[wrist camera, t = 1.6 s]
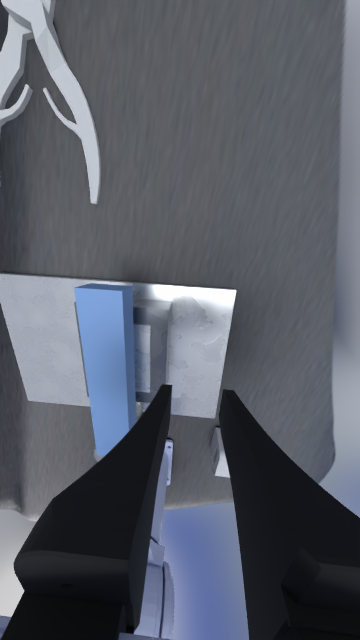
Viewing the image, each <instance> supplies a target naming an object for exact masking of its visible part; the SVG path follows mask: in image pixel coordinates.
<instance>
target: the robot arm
mask: <svg viewBox="0 0 360 640" xmlns="http://www.w3.org/2000/svg"><path fill="white" fill-rule="evenodd" d="M171 400H172V385H168V384H162V385H161V386H160V388H159V390H158V392H157V393H156V395H155V397H154V398H153V400H152V402H151V403H150V404H149V406H148V407H147V409H146V410H145V412H144V413H143V414H142V416H141V417H140V418H139V419H138V421H137V422H136V423H135V425H134V426H133V427H132V428H131V429H130V430H129V432H128V433H127V434H126V435H125V436H124V437H123V438H122V439H121V440H120V441H119V442H118V443H117V444H116V445H115V446H114V447H113V448H112V449H111V450H110V451H109V452H108V453H107V454H106V455H105V456H104V457H103V458H102V459H101V460H100V461H99V462H97V463H96V464H95V465H94V466H93V467H92V468H91V469H89V470H88V471H87V472H86V473H85V474H84V475H82V476H81V477H80V478H79V479H78V480H76V481H75V482H74V483H72V484H71V485H70V486H69V487H67V488H66V489H65V490H64V491H62V492H61V493H60V494H58V495H57V496H56V497H54V498H53V499H52V501H51V502H50V504H49V505H48V506H47V508H46V509H45V511H44V512H43V514H42V515H41V517H40V518H39V520H38V521H37V522H36V524H35V526H34V527H33V529H32V531H31V533H30V534H29V536H28V538H27V539H26V541H25V543H24V545H23V546H22V548H21V550H20V552H19V553H18V555H17V557H16V559H15V561H14V571H15V574H16V576H17V577H18V579H19V581H20V583H21V585H22V587H23V589H24V593H23V595H22V597H21V599H20V601H19V603H18V605H17V607H16V609H15V611H14V614H13V616H12V617H6V616H0V640H172V636H173V624H174V583H173V577H172V574H171V571H170V567H169V564H168V563H167V562H165V561H163V558H164V546H161V545H160V540H161V531H162V522H163V512H164V504H165V494H166V485H170V482H171V467H172V452H173V441H172V440H168V439H167V435H168V430H169V423H170V414H171ZM219 422H220V431H221V437H222V442H223V447H224V451H225V456H226V461H227V465H228V470H229V475H230V479H231V485H232V490H233V498H234V505H235V512H236V520H237V528H238V536H239V544H240V553H241V562H242V571H243V579H244V590H245V600H246V609H247V619H248V629H249V640H360V518H359V517H358V516H357V515H355V514H354V513H353V512H351V511H350V510H349V509H347V508H346V507H344V506H343V505H342V504H341V503H340V502H339V501H338V500H336V499H335V498H334V497H333V496H332V495H330V494H329V493H328V492H327V491H325V490H324V489H323V488H322V487H321V486H320V485H318V484H317V483H316V482H315V481H314V480H313V479H312V478H311V477H309V476H308V475H307V474H306V473H305V472H304V471H303V470H302V469H301V468H300V467H299V466H297V465H296V464H295V463H294V462H293V461H292V460H291V459H290V458H289V457H288V456H287V455H286V454H285V453H284V452H283V451H282V450H281V449H280V448H279V447H278V446H277V444H276V443H275V442H274V441H273V440H272V439H271V438H270V437H269V436H268V434H267V433H266V432H265V431H264V430H263V429H262V427H261V426H260V425H259V424H258V422H257V421H256V420H255V419H254V417H253V416H252V415H251V413H250V412H249V411H248V410H247V408H246V407H245V405H244V404H243V403H242V401H241V400H240V398H239V397H238V396H237V394H236V393H235V392H234V390H223V394H222V400H221V406H220V412H219Z"/></svg>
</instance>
